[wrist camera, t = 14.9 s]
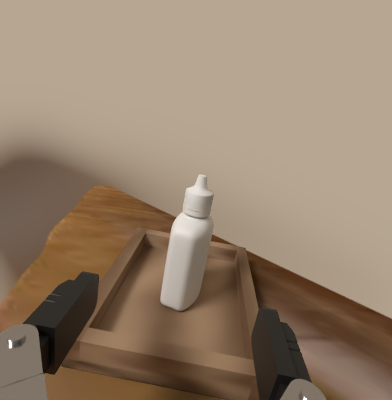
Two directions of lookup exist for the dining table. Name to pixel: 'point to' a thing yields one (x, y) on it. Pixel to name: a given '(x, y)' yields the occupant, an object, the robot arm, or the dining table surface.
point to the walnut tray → (173, 324)
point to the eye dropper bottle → (188, 248)
